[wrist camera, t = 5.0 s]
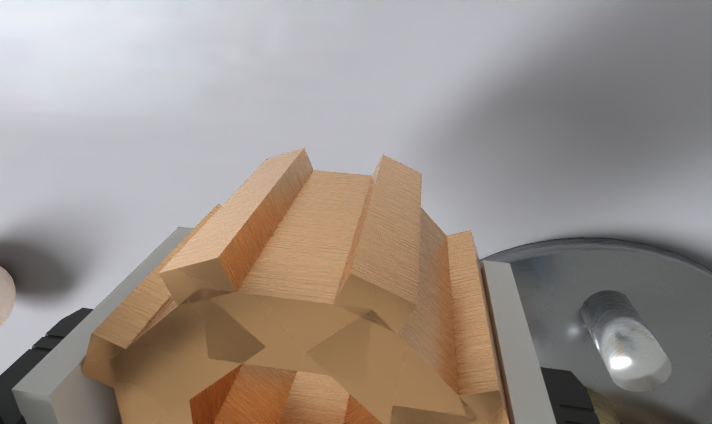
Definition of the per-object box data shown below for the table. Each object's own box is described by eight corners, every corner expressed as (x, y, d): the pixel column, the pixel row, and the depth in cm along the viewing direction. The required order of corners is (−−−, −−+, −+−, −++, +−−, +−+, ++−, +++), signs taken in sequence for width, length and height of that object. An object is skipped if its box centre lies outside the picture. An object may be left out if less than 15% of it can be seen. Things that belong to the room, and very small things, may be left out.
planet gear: (197, 138, 13) (42, 237, 8) (500, 164, 13) (554, 296, 7) (220, 362, 17) (125, 533, 12) (455, 396, 16) (469, 596, 11)
